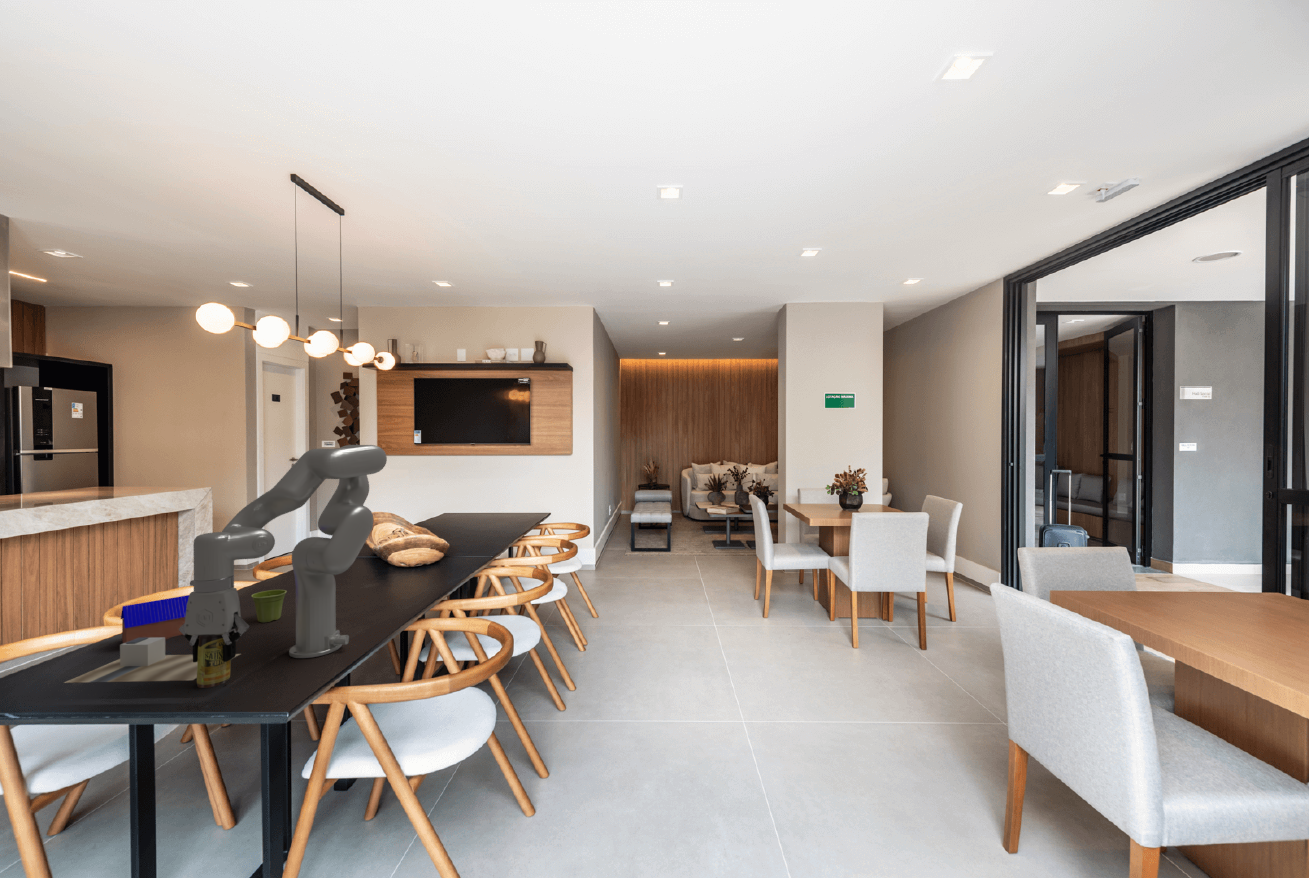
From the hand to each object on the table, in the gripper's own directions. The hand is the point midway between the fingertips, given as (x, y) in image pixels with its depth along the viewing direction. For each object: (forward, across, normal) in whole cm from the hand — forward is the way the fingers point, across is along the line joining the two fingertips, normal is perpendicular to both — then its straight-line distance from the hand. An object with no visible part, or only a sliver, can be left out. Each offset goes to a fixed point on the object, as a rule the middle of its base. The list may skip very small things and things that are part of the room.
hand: (214, 659), depth 129 cm
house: (+7, -40, +35) cm, 54 cm away
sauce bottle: (+7, 0, 0) cm, 7 cm away
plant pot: (+7, -20, +49) cm, 53 cm away
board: (+7, -21, +9) cm, 24 cm away
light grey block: (+5, -28, +13) cm, 31 cm away
